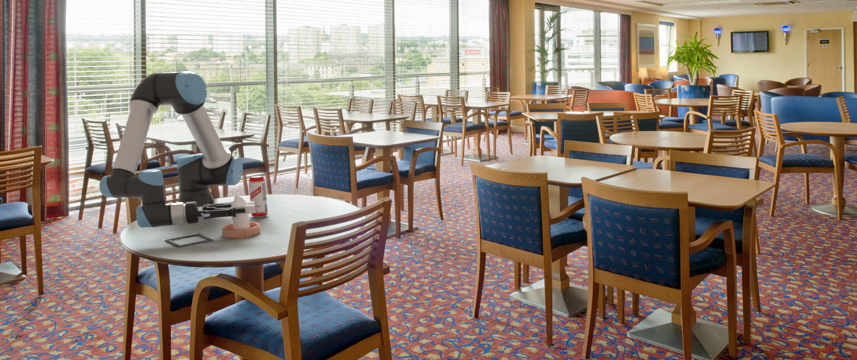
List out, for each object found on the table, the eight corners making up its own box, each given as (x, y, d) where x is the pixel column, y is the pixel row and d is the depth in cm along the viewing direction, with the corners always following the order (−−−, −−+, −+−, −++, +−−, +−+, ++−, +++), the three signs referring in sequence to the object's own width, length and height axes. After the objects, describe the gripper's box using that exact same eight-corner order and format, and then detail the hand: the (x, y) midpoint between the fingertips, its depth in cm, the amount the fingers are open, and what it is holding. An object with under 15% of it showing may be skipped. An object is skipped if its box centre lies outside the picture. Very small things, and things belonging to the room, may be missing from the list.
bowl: (217, 234, 238) (216, 226, 237) (250, 227, 246) (249, 219, 245) (232, 240, 228) (231, 232, 228) (266, 233, 236) (265, 225, 236)
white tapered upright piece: (249, 193, 237) (243, 196, 231) (252, 226, 239) (245, 230, 233) (234, 193, 238) (226, 196, 232) (236, 225, 240) (229, 229, 234)
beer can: (263, 218, 259) (260, 177, 256) (248, 218, 260) (245, 177, 257) (270, 214, 265) (267, 174, 262) (255, 214, 266) (252, 174, 263)
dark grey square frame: (165, 241, 231) (165, 239, 230) (199, 234, 238) (199, 233, 238) (178, 247, 222) (178, 246, 221) (213, 240, 229) (212, 239, 229)
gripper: (188, 217, 240) (255, 211, 246) (184, 230, 222) (256, 223, 228) (186, 197, 239) (253, 191, 245) (182, 208, 221) (254, 201, 227)
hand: (254, 207), depth 237 cm, fingers closed on white tapered upright piece, 6 cm apart
